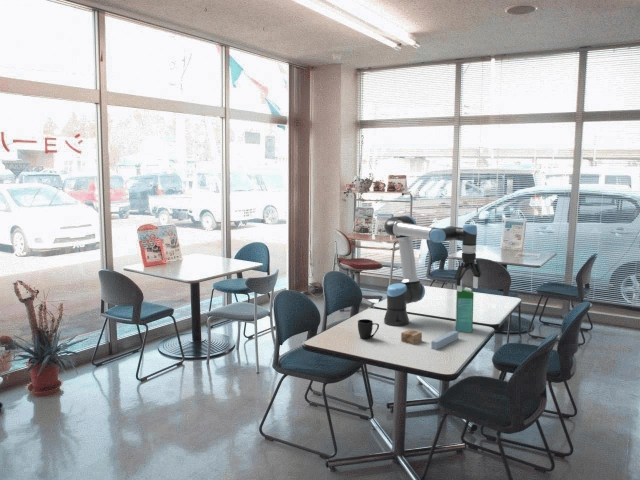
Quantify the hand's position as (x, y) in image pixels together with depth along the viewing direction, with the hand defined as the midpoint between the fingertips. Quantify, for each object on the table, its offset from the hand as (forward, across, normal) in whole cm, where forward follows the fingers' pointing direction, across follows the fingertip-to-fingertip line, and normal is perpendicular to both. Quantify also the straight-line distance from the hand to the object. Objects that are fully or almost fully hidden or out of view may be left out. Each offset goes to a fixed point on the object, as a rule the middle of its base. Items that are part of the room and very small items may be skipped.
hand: (467, 289), depth 304 cm
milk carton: (+26, +5, +6) cm, 27 cm away
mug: (+26, -50, +27) cm, 62 cm away
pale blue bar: (+26, -23, -5) cm, 35 cm away
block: (+26, -34, +9) cm, 44 cm away
